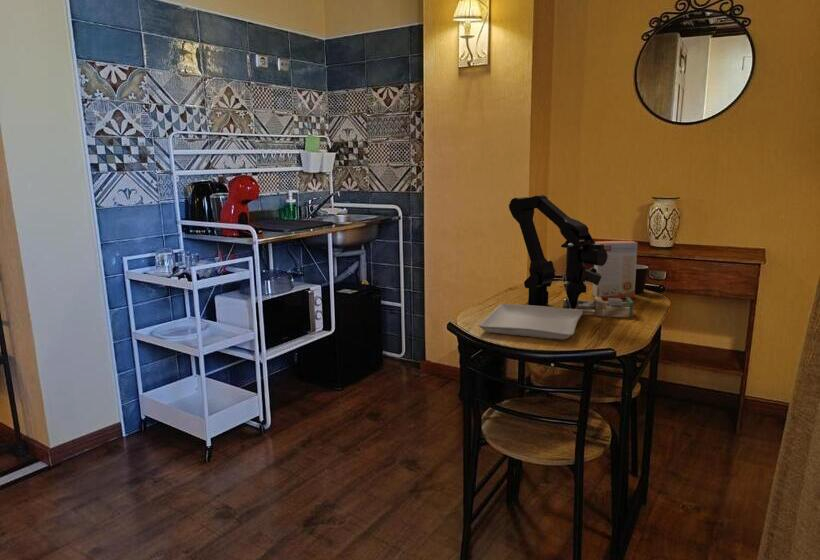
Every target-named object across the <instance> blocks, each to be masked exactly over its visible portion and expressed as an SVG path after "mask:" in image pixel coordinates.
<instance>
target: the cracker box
mask: <svg viewBox="0 0 820 560" xmlns="http://www.w3.org/2000/svg"><path fill="white" fill-rule="evenodd" d="M594 242H595V244H598V245H599V244H603V245H604V249H605V250H606V252H607V254H608V257H607V261H606V263H605V264H604V265H603V266H598V265H593V268H595V269H596V270H597V273H599V274H600V275H601V276H602V277H601V280H600V282H599V284H598V285H595V284H594V283H592V296H593V297H601V298H602V299H608V298H621V299H626V297H630V299H634V298H635V295H636V294H635V279H636V265H637V262H638V261H637V259H638V245H639V244H638V242H637V241H634V240H603V241H599V240H598V241H597V240H596V241H594Z"/></svg>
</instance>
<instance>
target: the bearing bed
mask: <svg viewBox="0 0 820 560" xmlns="http://www.w3.org/2000/svg"><path fill="white" fill-rule="evenodd" d="M593 297H594V298H593V301H596V310H582V309H574V310H582V311H583V313H582V315H585V316H586V315H587V316H596V317H609V318H633V314H634V302H633V300H632V298H630V297H626V298H625V302H623V301H622V307H608V306H607V305H608V301H603V298H601V297H595V296H593ZM582 315H581V316H582Z"/></svg>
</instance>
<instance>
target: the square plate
mask: <svg viewBox="0 0 820 560" xmlns="http://www.w3.org/2000/svg"><path fill="white" fill-rule="evenodd" d="M582 313H583V311H582V310H574V309H565V308H563V307H555V306H534V305H528V304H514V303H512V304H510V303H509V304H508V303H500V304H499V305H497V306H496V308H495V309H493V311H492V312H490V313H489V314H488V315H487V316H486V317H485V319H483V320H482V321H481V322H480V323H479V325H478V327H479V328H480V329H482V330H483V331H485V332H487V333H491V332H492V333H493V334H499V333H500V335H507V334H510V335H509V336H517V335H520V336H519V337H526V336H530V337H529V338H536V337H539V338H538V339H546V338H547V340H548V339H549V340H562V341H563V340H567V339H569V338H570V337H571V336H572V335H574V334H575V332H576V328H577V324H578V321H579V320H580V318H581V317H582ZM492 333H491V334H492Z"/></svg>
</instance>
